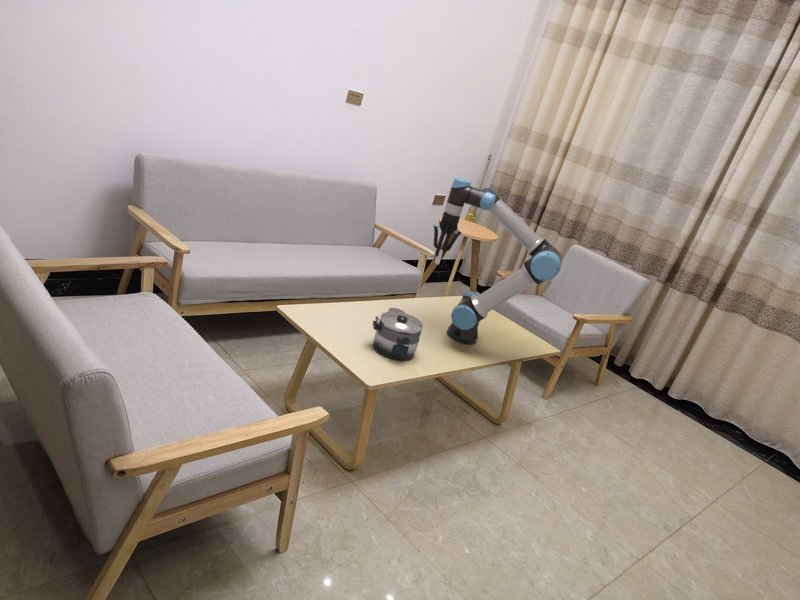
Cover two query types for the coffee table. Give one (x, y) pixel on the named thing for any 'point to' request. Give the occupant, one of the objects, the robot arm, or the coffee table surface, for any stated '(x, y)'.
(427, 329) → the coffee table surface
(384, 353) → the cooker
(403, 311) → the cup
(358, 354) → the coffee table surface
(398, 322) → the lid
